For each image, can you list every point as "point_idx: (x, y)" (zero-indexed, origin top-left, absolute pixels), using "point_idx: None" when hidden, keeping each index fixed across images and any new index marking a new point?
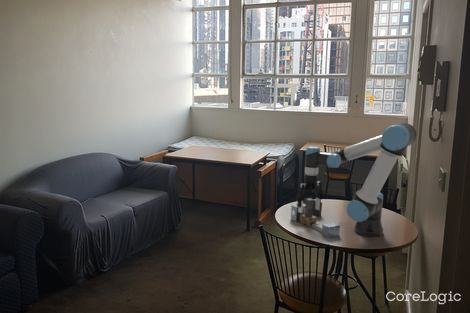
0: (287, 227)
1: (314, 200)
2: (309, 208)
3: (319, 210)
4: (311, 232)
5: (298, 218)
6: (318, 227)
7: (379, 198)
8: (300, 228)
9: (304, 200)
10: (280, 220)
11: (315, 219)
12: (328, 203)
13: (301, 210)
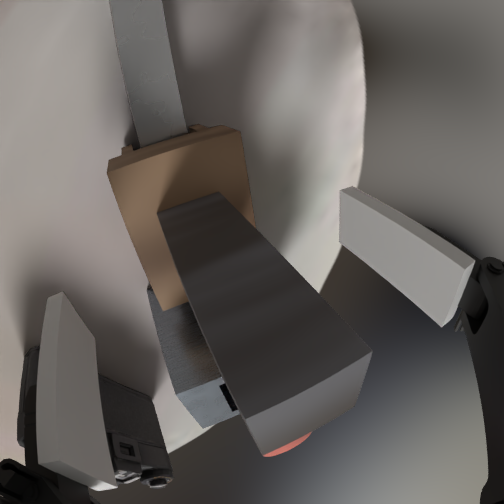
0: (351, 160)
1: None
2: (255, 249)
3: (34, 384)
4: (247, 11)
5: None
6: (165, 23)
7: None
8: (285, 115)
9: (149, 466)
10: (321, 280)
11: (132, 157)
12: (3, 458)
13: (376, 199)
